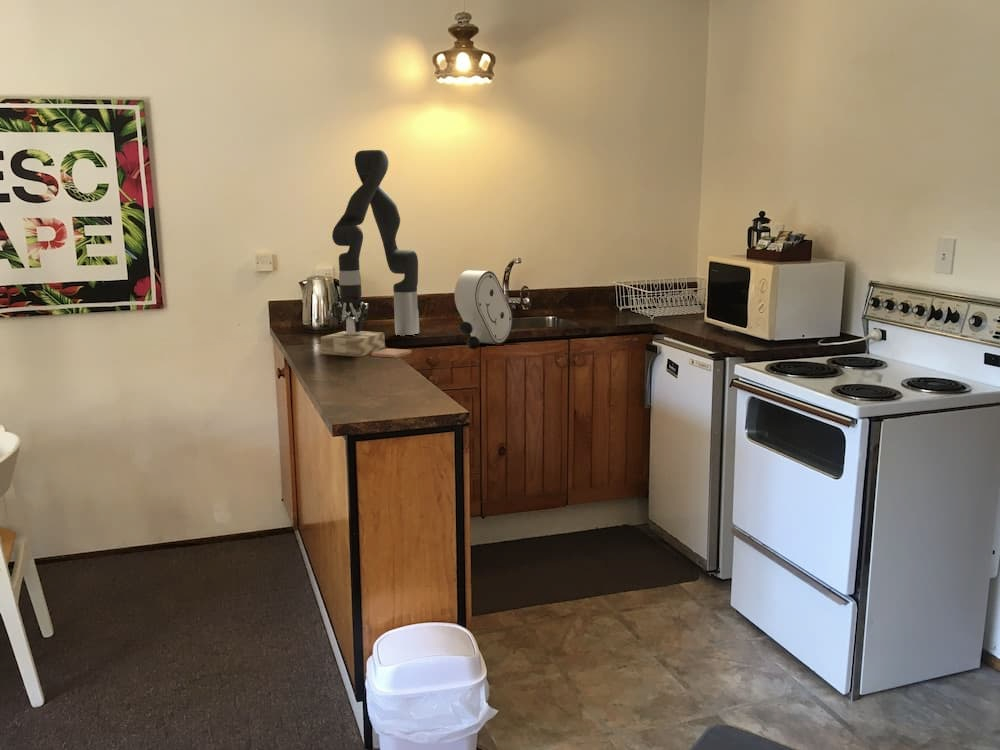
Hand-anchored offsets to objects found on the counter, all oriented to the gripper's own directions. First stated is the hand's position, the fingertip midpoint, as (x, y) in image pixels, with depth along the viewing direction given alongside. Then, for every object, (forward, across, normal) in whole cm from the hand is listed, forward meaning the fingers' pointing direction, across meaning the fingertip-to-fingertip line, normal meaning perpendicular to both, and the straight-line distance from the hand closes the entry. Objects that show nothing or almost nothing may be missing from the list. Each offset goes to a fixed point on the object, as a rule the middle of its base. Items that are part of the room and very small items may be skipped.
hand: (352, 331), depth 307 cm
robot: (+7, -38, -27) cm, 47 cm away
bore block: (+7, 0, 0) cm, 7 cm away
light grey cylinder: (+6, 0, 0) cm, 6 cm away
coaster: (+7, -16, 0) cm, 18 cm away
